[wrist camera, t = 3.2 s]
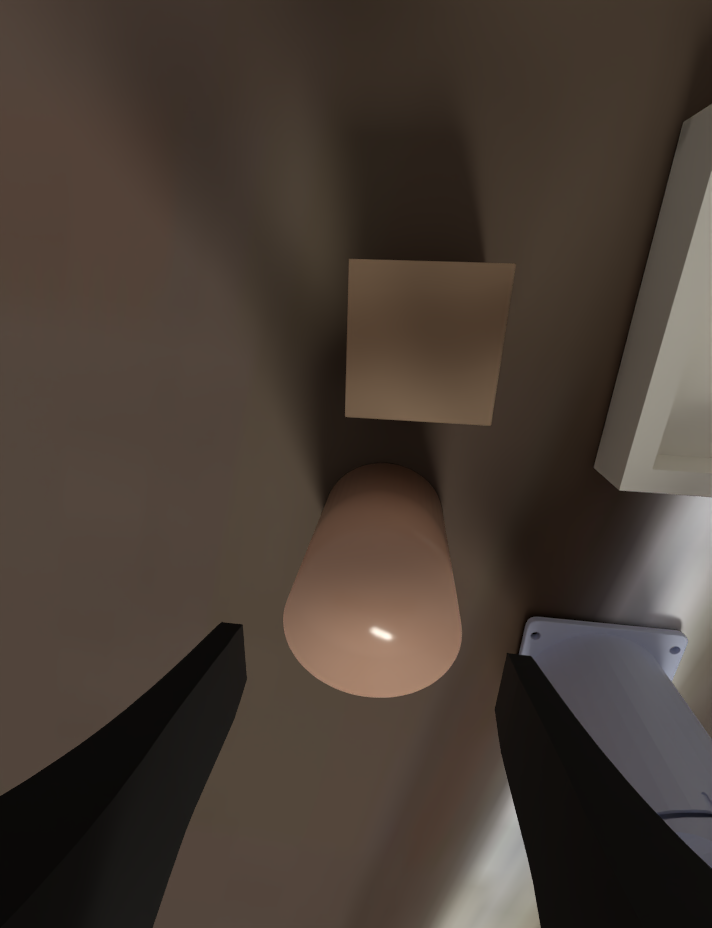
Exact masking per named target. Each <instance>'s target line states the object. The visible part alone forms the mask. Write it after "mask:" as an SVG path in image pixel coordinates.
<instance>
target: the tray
mask: <svg viewBox="0 0 712 928" xmlns="http://www.w3.org/2000/svg"><path fill="white" fill-rule="evenodd" d="M594 469H596V470H597V471H598V472H599V473H600V474H601V475H602V476H603V477H605V478H606V479H607V480H608V481H609V482H610V483H611V484H612V485H614V486H615V487H616V488H617V489H618V490H620V491H634V492H648V493H661V494H675V495H689V496H702V497H712V104H711V105H709V106H708V107H706V108H704V109H703V110H701V111H700V112H698V113H697V114H695V115H693V116H692V117H690V118H689V119H687V120H686V121H684V122H683V125H682V129H681V132H680V136H679V140H678V144H677V148H676V152H675V156H674V159H673V163H672V167H671V171H670V175H669V179H668V183H667V186H666V190H665V194H664V198H663V202H662V206H661V210H660V213H659V217H658V221H657V225H656V229H655V233H654V236H653V240H652V244H651V248H650V252H649V256H648V260H647V263H646V267H645V271H644V275H643V279H642V283H641V287H640V290H639V294H638V298H637V302H636V306H635V310H634V314H633V317H632V321H631V325H630V329H629V333H628V337H627V341H626V344H625V348H624V352H623V356H622V360H621V364H620V368H619V371H618V375H617V379H616V383H615V387H614V391H613V395H612V398H611V402H610V406H609V410H608V414H607V418H606V422H605V425H604V429H603V433H602V437H601V441H600V445H599V449H598V452H597V456H596V460H595V464H594Z"/></svg>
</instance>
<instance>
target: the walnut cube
mask: <svg viewBox="0 0 712 928" xmlns="http://www.w3.org/2000/svg"><path fill="white" fill-rule="evenodd" d="M515 267H516V264H513V263H478V262H443V261H408V260H374V259H349V279H348V318H347V358H346V397H345V417H354V418H371V419H387V420H404V421H420V422H437V423H453V424H470V425H486V426H491V421H492V415H493V409H494V402H495V396H496V389H497V383H498V376H499V370H500V364H501V357H502V351H503V344H504V338H505V331H506V325H507V319H508V312H509V306H510V299H511V293H512V287H513V280H514V274H515Z"/></svg>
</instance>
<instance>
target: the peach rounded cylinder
mask: <svg viewBox="0 0 712 928" xmlns="http://www.w3.org/2000/svg"><path fill="white" fill-rule="evenodd" d="M283 625H284V632H285V636H286V639H287V642H288V644H289V647H290V649H291V651H292V652H293V654H294V655H295V657H296V658H297V660H298V661H299V662H300V663H301V664H302V666H303V667H305V668H306V669H307V670H308V671H309V672H310V673H311V674H312V675H314V676H315V677H316V678H318V679H319V680H321V681H322V682H324V683H326V684H328V685H330V686H332V687H334V688H336V689H338V690H341V691H344V692H347V693H350V694H354V695H359V696H365V697H375V698H386V697H396V696H402V695H406V694H410V693H413V692H416V691H419V690H421V689H423V688H425V687H427V686H429V685H431V684H432V683H434V682H435V681H437V680H438V679H439V678H440V677H441V676H443V675H444V674H445V673H446V671H447V670H448V669H449V668H450V667H451V665H452V664H453V662H454V661H455V659H456V657H457V654H458V652H459V649H460V645H461V639H462V627H461V619H460V613H459V607H458V601H457V595H456V589H455V583H454V577H453V571H452V565H451V559H450V553H449V547H448V541H447V535H446V529H445V523H444V517H443V511H442V506H441V502H440V500H439V497H438V495H437V493H436V492H435V490H434V489H433V487H432V486H431V485H430V484H429V482H428V481H426V480H425V479H424V478H423V477H422V476H421V475H419V474H418V473H416V472H414V471H413V470H411V469H408V468H406V467H403V466H400V465H396V464H390V463H374V464H368V465H364V466H361V467H358V468H356V469H354V470H352V471H350V472H348V473H347V474H346V475H344V476H343V477H342V478H341V479H340V480H339V481H338V482H337V483H336V484H335V485H334V487H333V488H332V490H331V492H330V494H329V496H328V499H327V501H326V504H325V506H324V509H323V511H322V514H321V516H320V519H319V521H318V524H317V526H316V529H315V531H314V534H313V536H312V539H311V541H310V544H309V546H308V549H307V551H306V554H305V556H304V559H303V562H302V564H301V567H300V569H299V572H298V574H297V577H296V579H295V582H294V584H293V587H292V589H291V592H290V594H289V597H288V599H287V602H286V604H285V609H284V616H283Z"/></svg>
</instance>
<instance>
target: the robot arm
mask: <svg viewBox="0 0 712 928" xmlns="http://www.w3.org/2000/svg"><path fill="white" fill-rule="evenodd" d="M534 632H538V633H537V634H533V635H532V633H534ZM687 644H688V639H687V637H686V636H685V635H684V634H683V633H682V632H681V631H678V630H669V629H659V628H648V627H638V626H628V625H618V624H608V623H598V622H588V621H577V620H567V619H557V618H547V617H531V618H529V619H528V620H527V622H526V625H525V629H524V634H523V638H522V642H521V647H520V651H519V655H518V654H509V653H507V657H506V661H505V666H504V670H503V675H502V679H501V684H500V688H499V693H498V697H497V702H496V706H495V714H496V721H497V729H498V736H499V742H500V749H501V754H502V758H503V762H504V766H505V770H506V774H507V778H508V782H509V786H510V790H511V794H512V798H513V802H514V806H515V810H516V814H517V818H518V822H519V826H520V830H521V834H522V838H523V842H524V845H525V849H526V853H527V857H528V862H529V866H530V871H531V875H532V880H533V885H534V890H535V896H536V902H537V908H538V913H539V919H540V925H541V928H712V739H711V738H710V736H709V735H708V733H707V732H706V730H705V729H704V727H703V726H702V725H701V723H700V722H699V720H698V719H697V717H696V716H695V715H694V713H693V712H692V710H691V709H690V707H689V706H688V705H687V703H686V702H685V700H684V699H683V697H682V696H681V695H680V693H679V692H678V690H677V689H676V687H675V686H674V685H673V683H672V680H673V677H674V675H675V673H676V670H677V668H678V665H679V663H680V661H681V658H682V656H683V653H684V651H685V648H686V646H687ZM672 647H673V648H672ZM246 680H247V676H246V663H245V650H244V636H243V625H242V624H232V623H223V622H221V623H220V624H219V625H218V626H217V627H216V628H214V629H213V630H212V631H211V632H210V633H209V634H208V635H207V636H206V637H205V638H204V639H203V640H202V641H201V642H200V643H199V644H198V645H197V646H196V647H195V648H194V649H193V650H192V651H191V652H190V653H189V654H188V655H187V656H186V657H184V658H183V659H182V660H181V661H180V662H179V663H178V664H177V665H176V666H175V667H174V668H173V669H172V670H170V671H169V672H168V673H167V674H166V675H165V676H164V677H163V678H162V679H161V680H160V681H158V682H157V683H156V684H155V685H154V686H153V687H152V688H150V689H149V690H148V691H147V692H146V693H145V694H143V695H142V696H141V697H140V698H139V699H137V700H136V701H135V702H134V703H133V704H132V705H130V706H129V707H128V708H127V709H126V710H124V711H123V712H122V713H121V714H119V715H118V716H117V717H116V718H114V719H113V720H112V721H111V722H109V723H108V724H107V725H105V726H104V727H103V728H101V729H100V730H99V731H97V732H96V733H95V734H93V735H92V736H91V737H89V738H88V739H87V740H85V741H84V742H82V743H81V744H80V745H78V746H77V747H75V748H74V749H72V750H71V751H70V752H68V753H67V754H65V755H64V756H62V757H61V758H59V759H58V760H56V761H55V762H53V763H52V764H50V765H49V766H47V767H46V768H44V769H43V770H41V771H40V772H38V773H37V774H35V775H34V776H32V777H31V778H29V779H28V780H26V781H24V782H23V783H21V784H20V785H18V786H16V787H15V788H13V789H11V790H10V791H8V792H6V793H5V794H3V795H1V796H0V928H153V925H154V922H155V919H156V916H157V913H158V910H159V907H160V904H161V901H162V898H163V895H164V892H165V889H166V886H167V883H168V880H169V877H170V874H171V871H172V868H173V866H174V863H175V860H176V857H177V854H178V851H179V849H180V846H181V843H182V840H183V837H184V834H185V831H186V829H187V826H188V824H189V821H190V819H191V816H192V814H193V812H194V809H195V807H196V805H197V802H198V800H199V798H200V795H201V793H202V791H203V789H204V786H205V784H206V782H207V780H208V777H209V775H210V773H211V771H212V768H213V766H214V764H215V762H216V759H217V757H218V755H219V753H220V750H221V748H222V746H223V743H224V741H225V739H226V737H227V734H228V732H229V730H230V727H231V725H232V723H233V720H234V718H235V715H236V712H237V709H238V706H239V703H240V700H241V697H242V693H243V690H244V687H245V684H246Z"/></svg>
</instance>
